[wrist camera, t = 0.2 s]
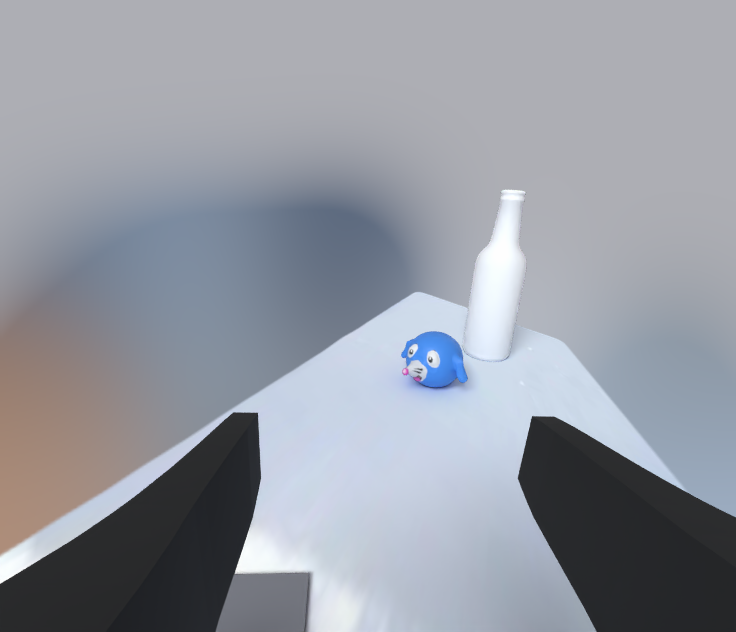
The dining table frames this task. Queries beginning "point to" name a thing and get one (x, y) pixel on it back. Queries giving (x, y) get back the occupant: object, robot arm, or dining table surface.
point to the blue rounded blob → (434, 359)
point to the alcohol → (497, 285)
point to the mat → (265, 603)
